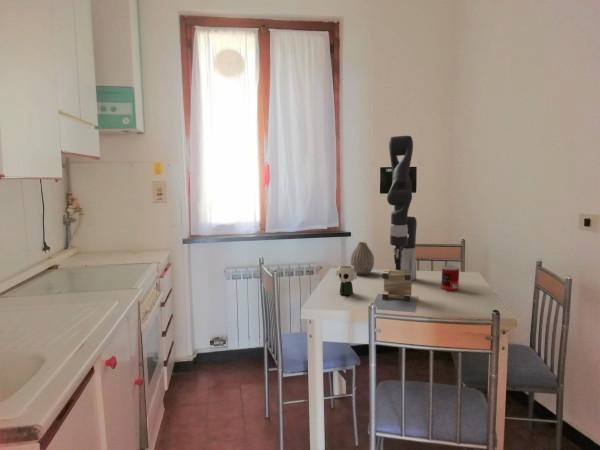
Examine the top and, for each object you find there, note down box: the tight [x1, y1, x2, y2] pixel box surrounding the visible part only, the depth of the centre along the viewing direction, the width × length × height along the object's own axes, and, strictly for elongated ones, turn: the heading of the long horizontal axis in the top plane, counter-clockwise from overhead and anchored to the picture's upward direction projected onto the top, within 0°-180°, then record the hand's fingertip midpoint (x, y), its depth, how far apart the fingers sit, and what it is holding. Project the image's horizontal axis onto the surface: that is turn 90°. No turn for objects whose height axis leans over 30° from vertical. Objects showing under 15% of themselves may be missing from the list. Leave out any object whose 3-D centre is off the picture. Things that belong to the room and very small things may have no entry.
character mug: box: [335, 264, 358, 296], centre depth 206 cm, size 11×7×13 cm, turn 52°
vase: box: [349, 241, 375, 276], centre depth 246 cm, size 13×13×18 cm
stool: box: [381, 268, 413, 302], centre depth 197 cm, size 7×12×12 cm, turn 72°
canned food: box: [441, 264, 460, 292], centre depth 213 cm, size 8×8×11 cm
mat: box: [373, 293, 419, 313], centre depth 192 cm, size 23×18×1 cm
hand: (398, 272), depth 201 cm, fingers closed
